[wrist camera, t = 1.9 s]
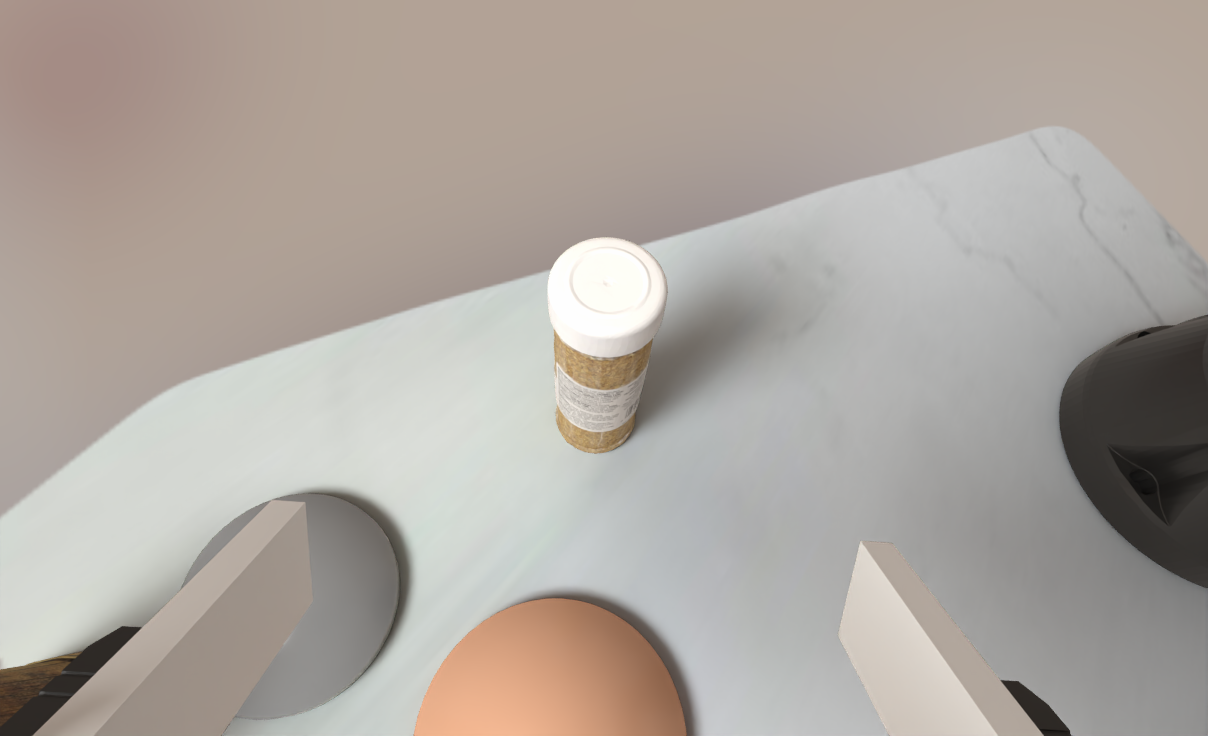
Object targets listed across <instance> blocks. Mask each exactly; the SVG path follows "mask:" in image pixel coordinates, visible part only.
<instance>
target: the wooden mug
mask: <svg viewBox="0 0 1208 736" xmlns="http://www.w3.org/2000/svg"><path fill="white" fill-rule="evenodd" d="M81 653H82V652H78V653H73V654H68V655H63V656H59V657H54V658H50V659H46V660H42V661H38V662H33V663H30V664H27V665H25V666H20V667H13V668H7V669H1V670H0V727H1V726H2V725H3V724H4V723H5V722H6V721H7V720H9V719H10V718H11V717H12V716H13V715H14V714H15V713H16V712H17V711H18V710H19V709H21V708H22V707H23V706H24V705H25V704H26V703H27V702H28V701H29V700H30V699H31V698H33V697H37V696H38V695H39V691H40V690H41V689H42V688H43V687H45V686H46V685H47V684H48V683H49V682H50V681H51V680H52V679H53V678H54V677H55V676H60V675H61V673H62V670H63V669H64V668H65V667H66V666H67V665H69V664H70V663H71V662H72V661H73V660H74V659H75V658H76V657H77V656H78V655H79V654H81Z"/></svg>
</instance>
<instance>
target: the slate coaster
mask: <svg viewBox="0 0 1208 736" xmlns="http://www.w3.org/2000/svg"><path fill="white" fill-rule="evenodd" d="M273 500H280V501H295V502H305V504H306V517H307V530H308V543H309V556H310V569H311V582H312V595H313V602H312V603H311V605H310V606H309V607H308V609H307V610H306V612H305V613H304V615H303V616H302V618H301V619H300V621H299V622H298V624H297V625H296V627H295V628H294V630H293V631H292V632H291V634H290V635H289V637H288V638H287V640H286V641H285V643H284V644H283V646H282V647H281V649H280V650H279V652H278V653H277V655H276V656H275V658H274V659H273V660H272V662H271V663H270V665H269V666H268V668H267V669H266V671H265V672H264V674H263V675H262V677H261V678H260V680H259V681H258V683H257V684H256V685H255V687H254V688H253V690H252V691H251V693H250V694H249V696H248V697H247V699H246V700H245V702H244V703H243V705H242V706H241V708H240V709H239V710H238V712H237V713H236V715H235V717H239V718H245V719H253V720H261V719H276V718H282V717H288V716H294V715H297V714H300V713H303V712H307V711H309V710H312V709H314V708H316V707H318V706H321V705H323V704H324V703H326V702H328V701H329V700H331V699H333V698H334V697H336V696H338V695H339V694H340V693H342V692H343V691H344V690H345V689H347V688H348V687H349V686H351V685H352V684H353V683H354V682H355V681H356V680H357V679H358V678H359V677H360V676H361V675H362V674H363V673H364V672H365V670H366V669H367V668H368V667H369V666H370V664H371V663H372V662H373V660H374V659H375V657H376V656H377V654H378V653H379V651H380V650H381V648H382V646H383V645H384V643H385V641H386V639H387V637H388V635H389V632H390V630H391V627H392V625H393V622H394V619H395V615H396V611H397V607H398V601H399V593H400V575H399V568H398V562H397V559H396V555H395V551H394V549H393V547H392V545H391V542H390V540H389V539H388V537H387V535H386V534H385V532H384V531H383V529H382V528H381V527H380V526H379V525H378V524H377V522H376V521H375V520H374V519H372V518H371V517H370V516H369V515H368V514H366V513H365V512H364V511H363V510H361V509H360V508H358V507H357V506H355V505H353V504H352V503H350V502H347V501H345V500H343V499H340V498H337V497H333V496H329V495H323V494H295V495H288V496H284V497H280V498H276V499H273ZM270 501H271V500H270ZM270 501H268V502H265V503H262V504H260V505H258V506H256V507H254V508H252V509H250V510H248V511H246V512H245V513H243V514H242V515H240V516H239V517H237V518H235V519H234V520H233V521H232V522H230V523H229V524H228V525H227V526H225V527H224V528H223V529H222V530H221V531H220V532H219V533H218V534H217V535H216V536H215V537H214V538H213V539H212V540H211V541H210V542H209V543H208V544H207V546H206V547H205V548H204V549H203V550H202V552H201V553H200V555H199V556H198V558H197V559H196V560H195V562H194V563H193V565H192V567H191V569H190V571H189V572H188V574H187V576H186V578H185V581H184V583H183V586H182V588H183V587H184V586H185V585H186V584H187V583H188V582H189V581H190V580H191V579H192V578H193V577H194V576H195V575H196V574H197V573H198V572H199V571H200V570H201V569H202V568H203V567H204V566H205V565H206V564H207V563H208V562H210V561H211V560H212V559H213V558H214V557H215V556H216V555H217V554H218V553H219V552H220V551H221V550H222V549H223V548H224V547H225V546H226V545H227V544H228V543H229V542H230V541H231V540H232V539H233V538H234V537H235V536H236V535H237V534H238V533H239V532H240V531H241V530H242V529H243V528H244V527H245V526H246V525H247V524H248V523H249V522H250V521H251V520H252V519H253V518H254V517H255V516H256V515H257V514H258V513H259V512H260V511H261V510H262V509H263V508H264V507H265V506H266V505H267V504H268V503H269V502H270ZM182 588H181V589H182Z"/></svg>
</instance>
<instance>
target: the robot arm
mask: <svg viewBox="0 0 1208 736" xmlns="http://www.w3.org/2000/svg"><path fill="white" fill-rule="evenodd" d="M1060 429H1061V435H1062V440H1063V444H1064V448H1065V451H1066V454H1067V457H1068V459H1069V462H1070V464H1071V467H1072V469H1073V471H1074V473H1075V475H1076V477H1077V479H1078V480H1079V482H1080V484H1081V486H1082V487H1083V489H1084V491H1085V492H1086V494H1087V495H1088V497H1089V498H1090V500H1091V501H1092V502H1093V504H1094V505H1095V506H1096V508H1097V509H1098V510H1099V511H1100V513H1101V514H1102V515H1103V516H1104V517H1105V519H1106V520H1107V521H1108V522H1109V523H1110V524H1111V525H1112V526H1113V527H1114V528H1115V529H1116V530H1117V531H1118V532H1119V533H1120V534H1121V535H1122V536H1123V537H1124V538H1125V539H1126V540H1127V541H1128V542H1130V543H1131V544H1132V545H1133V546H1134V547H1136V548H1137V549H1138V550H1139V551H1141V552H1142V553H1143V554H1145V555H1146V556H1147V557H1149V558H1150V559H1152V560H1153V561H1155V562H1156V563H1157V564H1159V565H1161V566H1162V567H1164V568H1166V569H1167V570H1169V571H1171V572H1172V573H1174V574H1176V575H1178V576H1180V577H1182V578H1184V579H1186V580H1188V581H1191V582H1193V583H1195V584H1198V585H1200V586H1203V587H1206V588H1208V315H1205V316H1201V317H1198V318H1194V319H1191V320H1188V321H1185V322H1182V323H1180V324H1178V325H1174V326H1159V327H1153V328H1148V329H1144V330H1140V331H1137V332H1134V333H1131V334H1128V335H1126V336H1124V337H1121V338H1119V339H1117V340H1116V341H1114V342H1112V343H1111V344H1109V345H1107V346H1106V347H1104V348H1102V349H1101V350H1099V351H1098V352H1096V353H1094V354H1093V355H1091V356H1089V357H1088V358H1087V359H1085V360H1084V361H1083V362H1082V363H1080V364H1079V365H1078V366H1077V367H1076V369H1075V370H1074V371H1073V372H1072V374H1071V375H1070V377H1069V379H1068V381H1067V382H1066V385H1065V387H1064V390H1063V393H1062V397H1061V403H1060ZM312 602H313V595H312V582H311V569H310V556H309V543H308V530H307V517H306V504H305V502H295V501H280V500H271V501H270V502H269V503H268V504H267V505H266V506H265V507H264V508H263V509H262V510H261V511H260V512H259V513H258V514H257V515H256V516H255V517H254V518H253V519H252V520H251V521H250V522H249V523H248V524H247V525H246V526H245V527H244V528H243V529H242V530H241V531H240V532H239V533H238V534H237V535H236V536H235V537H234V538H233V539H232V540H231V541H230V542H229V543H228V544H227V545H226V546H225V547H224V548H223V549H222V550H221V551H220V552H219V553H218V554H217V555H216V556H215V557H214V558H213V559H212V560H211V561H210V562H208V563H207V564H206V565H205V566H204V567H203V568H202V569H201V570H200V571H199V572H198V573H197V574H196V575H195V576H194V577H193V578H192V579H191V580H190V581H189V582H188V583H187V584H186V585H185V586H184V587H183V588H182V589H181V590H180V591H179V592H178V593H177V594H176V595H175V596H174V597H173V598H172V599H171V600H170V601H169V602H168V603H167V604H166V605H165V606H164V607H163V608H162V609H161V610H160V611H159V612H158V613H157V614H156V615H155V616H154V617H153V618H152V619H151V620H150V621H149V622H148V623H147V624H145V625H144V626H143V627H142V628H141V627H125V626H122V627H120V628H119V629H117V630H115V631H114V632H112V633H110V634H109V635H107V636H105V637H103V638H102V639H100V640H98V641H97V642H95V643H93V644H92V645H90V646H88V647H87V648H86V649H85V650H84V651H83V652H82V653H81V654H79V655H78V656H77V657H76V658H75V659H74V660H73V661H72V662H71V663H70V664H69V665H67V666H66V667H65V668H64V669H63V670H62V673H61V675H60V676H55V677H54V678H53V679H52V680H51V681H50V682H49V683H48V684H47V685H46V686H45V687H43V688H42V689H41V690H40V691H39V695H38V696H37V697H33V698H31V699H30V700H29V701H28V702H27V703H26V704H25V705H24V706H23V707H22V708H21V709H19V710H18V711H17V712H16V713H15V714H14V715H13V716H12V717H11V718H10V719H9V720H7V721H6V722H5V723H4V724H3V725H2V726H1V727H0V736H222V734H223V733H224V731H225V730H226V728H227V727H228V725H229V724H230V722H231V721H232V719H233V718H234V716H235V715H236V713H237V712H238V710H239V709H240V708H241V706H242V705H243V703H244V702H245V700H246V699H247V697H248V696H249V694H250V693H251V691H252V690H253V688H254V687H255V685H256V684H257V683H258V681H259V680H260V678H261V677H262V675H263V674H264V672H265V671H266V669H267V668H268V666H269V665H270V663H271V662H272V660H273V659H274V658H275V656H276V655H277V653H278V652H279V650H280V649H281V647H282V646H283V644H284V643H285V641H286V640H287V638H288V637H289V635H290V634H291V632H292V631H293V630H294V628H295V627H296V625H297V624H298V622H299V621H300V619H301V618H302V616H303V615H304V613H305V612H306V610H307V609H308V607H309V606H310V605H311V603H312ZM838 637H839V639H840V640H841V642H842V644H843V646H844V648H845V650H846V652H847V654H848V656H849V658H850V660H851V662H852V664H853V666H854V668H855V670H856V672H857V674H858V676H859V678H860V680H861V682H862V683H863V685H864V687H865V689H866V691H867V693H868V695H869V697H870V699H871V701H872V703H873V705H874V707H875V709H876V711H877V713H878V715H879V717H880V719H881V721H882V723H883V725H884V726H885V728H886V730H887V732H888V734H889V736H1071V734H1070V730H1069V729H1068V728H1067V727H1066V725H1065V724H1064V723H1063V722H1062V721H1061V720H1060V718H1059V717H1058V716H1057V715H1056V714H1055V712H1054V711H1053V710H1052V709H1051V708H1050V706H1049V705H1048V704H1047V703H1045V702H1044V701H1043V700H1041V699H1040V698H1039V697H1038V696H1036V695H1035V694H1034V693H1033V692H1031V691H1030V690H1029V689H1027V688H1026V687H1025V686H1024V685H1022V684H1021V683H1020V682H1019V681H1004V680H1000V679H999V678H998V677H997V676H996V674H995V673H994V672H993V671H992V669H991V668H990V667H989V665H988V664H987V663H986V662H985V660H984V659H983V658H982V657H981V655H980V654H979V653H978V652H977V650H976V649H975V648H974V646H973V645H972V644H971V643H970V641H969V640H968V639H967V638H966V636H965V635H964V634H963V632H962V631H961V630H960V629H959V627H958V626H957V625H956V624H955V622H954V621H953V620H952V618H951V617H950V616H949V615H948V613H947V612H946V611H945V610H944V608H943V607H942V606H941V604H940V603H939V602H938V601H937V599H936V598H935V597H934V596H933V594H932V593H931V592H930V591H929V589H928V588H927V587H926V585H925V584H924V583H923V582H922V580H921V579H920V578H919V577H918V575H917V574H916V573H915V571H914V570H913V569H912V568H911V566H910V565H909V564H908V563H907V561H906V560H905V559H904V557H903V556H902V555H901V554H900V552H899V551H898V550H897V549H896V547H895V546H894V545H893V544H892V543H886V542H871V541H860V545H859V549H858V553H857V557H856V561H855V566H854V570H853V574H852V578H851V582H850V586H849V591H848V595H847V599H846V603H845V607H844V611H843V615H842V620H841V624H840V628H839V632H838Z"/></svg>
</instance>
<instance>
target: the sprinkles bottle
mask: <svg viewBox="0 0 1208 736" xmlns="http://www.w3.org/2000/svg"><path fill="white" fill-rule="evenodd" d="M667 293H668V289H667V281H666V277H665V274H664V272H663V270H662V268H661V266H660V264H659V263H658V261H657V260H656V259H655V258H654V257H653V256H652V255H651V254H650V253H649V252H648V251H646V250H645V249H644V248H642V247H640V246H639V245H637V244H634V243H632V242H630V241H627V240H623V239H619V238H610V237H603V238H594V239H589V240H586V241H583V242H580V243H578V244H576V245H574V246H572V247H571V248H569V249H568V250H566V251H565V252H564V253H563V254H562V255H561V256H560V257H559V258H558V260H557V261H556V262H555V264H554V266H553V268H552V270H551V272H550V276H549V279H548V310H549V316H550V321H551V323H552V326H553V328H554V337H555V339H554V351H555V365H554V376H555V394H556V401H557V408H556V421H557V425H558V428H559V430H560V432H561V434H562V436H563V437H564V438H565V440H566V441H567V442H568V443H569V444H571V445H573V446H574V447H575V448H577V449H579V450H582V451H584V452H588V453H595V454H597V453H604V452H607V451H610V450H613V449H615V448H616V447H618V446H620V445H621V444H622V443H624V442H625V441H626V439H627V438H628V437H629V435H630V433H631V431H632V429H633V427H634V423H635V411H636V409H637V407H638V404H639V400H640V396H641V392H642V388H643V384H644V380H645V376H646V372H647V368H648V364H649V360H650V355H651V346H652V341H653V337H654V336H655V335H656V333H657V332H658V330H659V328H660V325H661V322H662V319H663V315H664V311H665V306H666V300H667Z"/></svg>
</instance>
